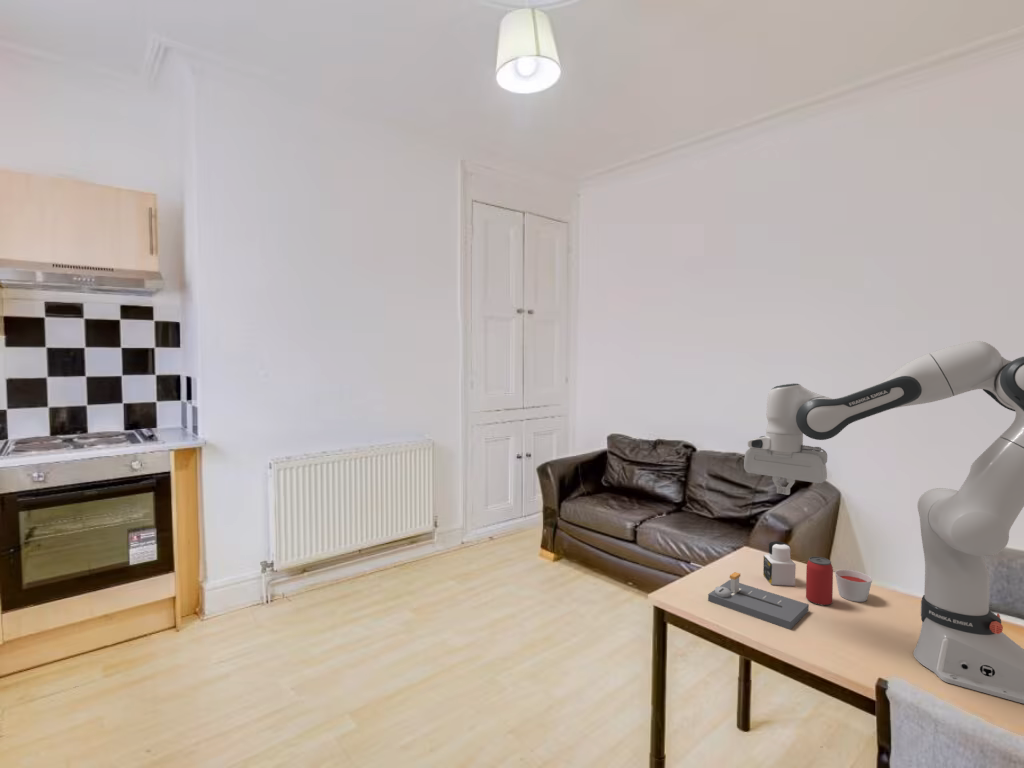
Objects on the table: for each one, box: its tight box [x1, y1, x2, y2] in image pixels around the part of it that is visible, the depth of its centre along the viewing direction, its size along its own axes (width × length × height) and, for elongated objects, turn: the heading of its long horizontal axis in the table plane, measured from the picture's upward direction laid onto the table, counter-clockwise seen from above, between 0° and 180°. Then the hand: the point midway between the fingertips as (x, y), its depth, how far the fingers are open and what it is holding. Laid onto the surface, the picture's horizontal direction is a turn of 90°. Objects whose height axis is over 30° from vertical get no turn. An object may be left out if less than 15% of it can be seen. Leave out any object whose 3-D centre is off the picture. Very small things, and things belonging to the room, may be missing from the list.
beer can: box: [805, 556, 834, 606], centre depth 148 cm, size 7×7×12 cm
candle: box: [834, 569, 873, 603], centre depth 150 cm, size 9×9×6 cm
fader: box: [729, 571, 741, 593], centre depth 150 cm, size 2×4×5 cm, turn 133°
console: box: [707, 579, 810, 630], centre depth 145 cm, size 22×14×4 cm, turn 43°
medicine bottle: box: [762, 541, 797, 587], centre depth 161 cm, size 7×7×12 cm
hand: (783, 493), depth 140 cm, fingers closed
